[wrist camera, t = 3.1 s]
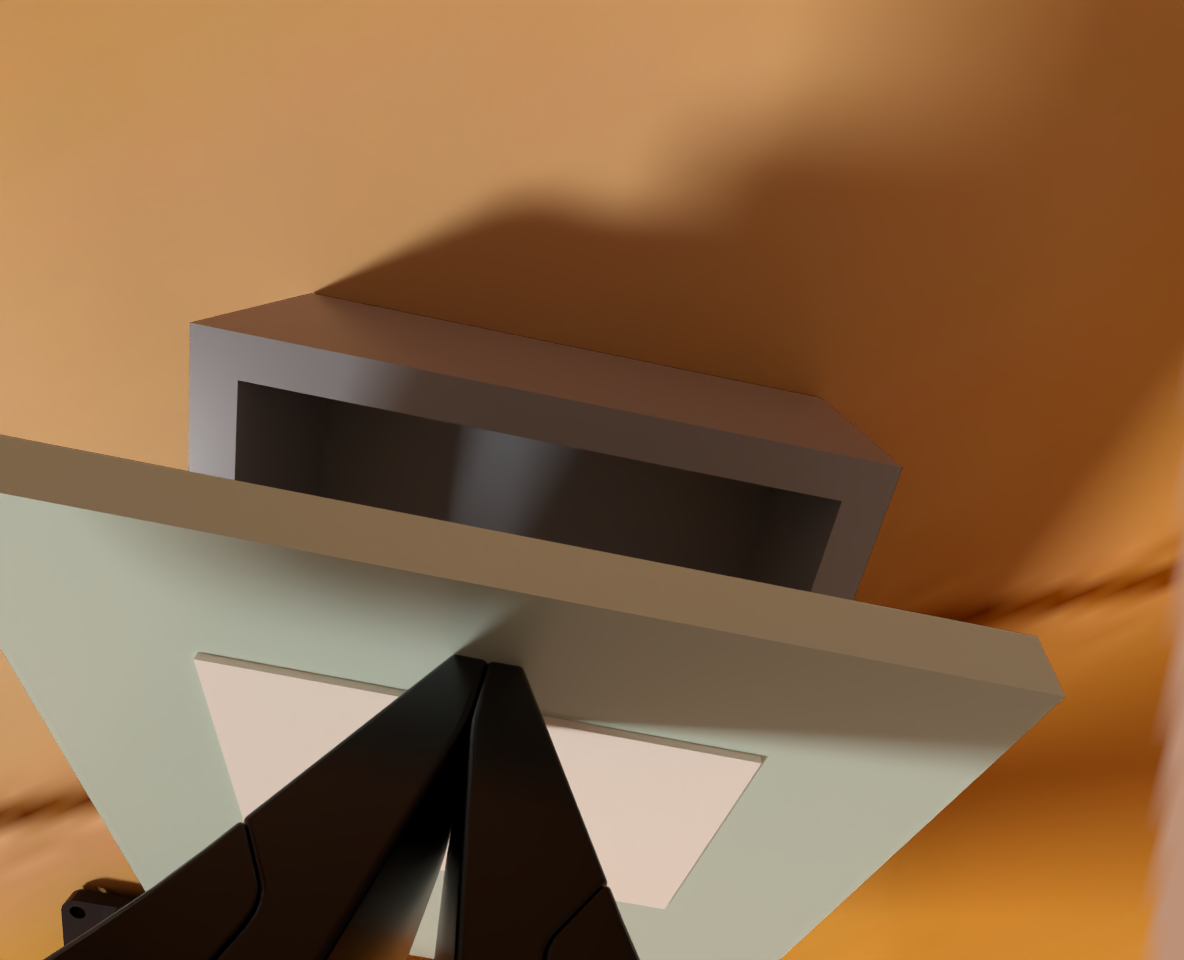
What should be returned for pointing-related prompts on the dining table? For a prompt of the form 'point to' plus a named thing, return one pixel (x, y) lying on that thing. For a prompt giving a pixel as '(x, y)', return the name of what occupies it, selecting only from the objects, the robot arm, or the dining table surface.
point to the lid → (494, 634)
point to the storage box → (537, 441)
